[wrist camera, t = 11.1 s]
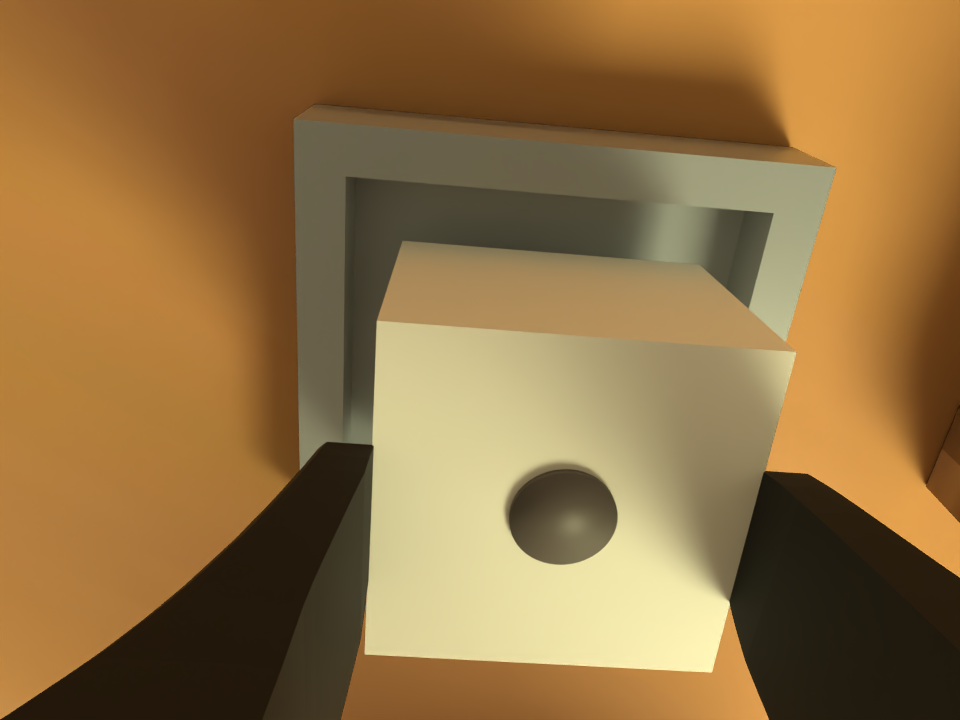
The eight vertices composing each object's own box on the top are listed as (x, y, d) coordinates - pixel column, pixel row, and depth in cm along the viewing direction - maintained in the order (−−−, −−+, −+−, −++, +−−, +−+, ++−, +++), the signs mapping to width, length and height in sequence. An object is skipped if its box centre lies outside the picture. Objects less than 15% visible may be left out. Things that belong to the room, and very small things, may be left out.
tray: (692, 526, 17) (715, 581, 16) (317, 502, 17) (300, 556, 15) (792, 147, 13) (836, 168, 12) (314, 103, 13) (293, 119, 11)
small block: (648, 514, 15) (713, 677, 11) (390, 498, 14) (363, 659, 10) (699, 264, 13) (800, 354, 9) (402, 240, 12) (376, 323, 9)
